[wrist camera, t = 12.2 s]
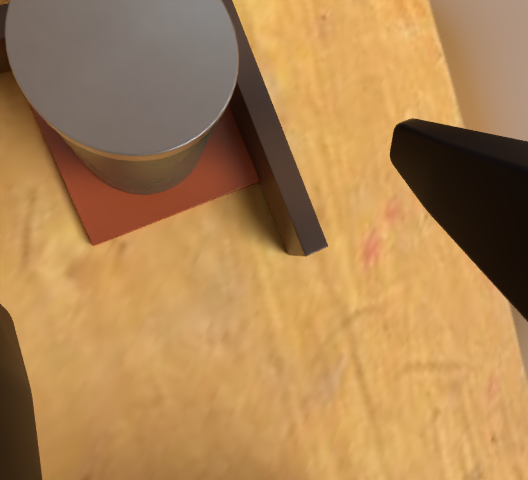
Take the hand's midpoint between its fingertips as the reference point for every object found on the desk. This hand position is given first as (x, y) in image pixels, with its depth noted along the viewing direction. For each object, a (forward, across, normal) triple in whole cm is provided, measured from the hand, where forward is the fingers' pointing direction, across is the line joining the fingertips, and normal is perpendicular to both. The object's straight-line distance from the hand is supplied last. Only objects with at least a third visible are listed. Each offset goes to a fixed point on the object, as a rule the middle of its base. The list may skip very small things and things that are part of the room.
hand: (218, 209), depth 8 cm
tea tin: (+11, 0, +4) cm, 12 cm away
